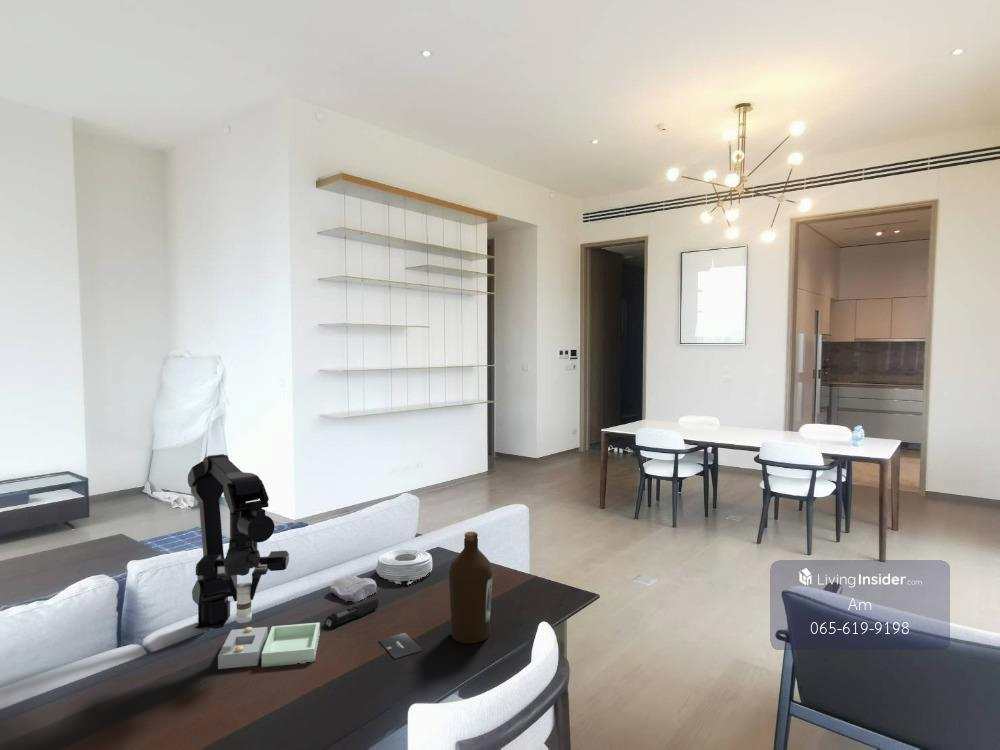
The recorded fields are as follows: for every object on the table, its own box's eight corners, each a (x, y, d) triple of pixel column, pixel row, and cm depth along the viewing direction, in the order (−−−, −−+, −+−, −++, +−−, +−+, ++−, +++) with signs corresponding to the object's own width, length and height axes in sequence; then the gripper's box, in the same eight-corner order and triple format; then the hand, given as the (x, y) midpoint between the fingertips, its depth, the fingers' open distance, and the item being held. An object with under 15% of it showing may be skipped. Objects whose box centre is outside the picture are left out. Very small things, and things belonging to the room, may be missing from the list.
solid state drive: (394, 661, 130) (394, 658, 130) (377, 642, 138) (378, 639, 138) (422, 652, 134) (422, 649, 134) (405, 635, 142) (405, 632, 142)
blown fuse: (234, 623, 130) (234, 588, 129) (238, 617, 133) (238, 582, 133) (250, 622, 130) (249, 587, 130) (253, 616, 134) (252, 581, 133)
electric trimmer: (381, 611, 155) (381, 600, 155) (331, 631, 144) (331, 618, 144) (373, 607, 158) (373, 596, 158) (322, 626, 146) (322, 614, 146)
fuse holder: (218, 669, 125) (218, 652, 125) (231, 642, 137) (231, 627, 137) (257, 665, 127) (257, 649, 127) (267, 639, 139) (267, 624, 138)
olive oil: (447, 645, 136) (448, 540, 136) (449, 624, 147) (450, 527, 146) (492, 645, 137) (493, 540, 136) (491, 624, 147) (492, 527, 147)
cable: (405, 589, 170) (405, 569, 170) (363, 576, 179) (363, 557, 179) (443, 571, 184) (443, 552, 184) (402, 560, 194) (403, 542, 194)
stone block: (355, 611, 159) (380, 592, 167) (352, 595, 158) (377, 576, 166) (325, 602, 165) (351, 584, 173) (322, 587, 164) (348, 569, 173)
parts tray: (261, 667, 126) (261, 653, 126) (271, 638, 139) (271, 626, 139) (314, 662, 128) (314, 648, 128) (319, 634, 141) (319, 622, 141)
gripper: (187, 545, 121) (187, 619, 122) (281, 540, 125) (282, 611, 126) (202, 530, 132) (203, 597, 133) (289, 525, 136) (289, 591, 136)
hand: (244, 600), depth 131 cm, fingers closed on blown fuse, 3 cm apart
